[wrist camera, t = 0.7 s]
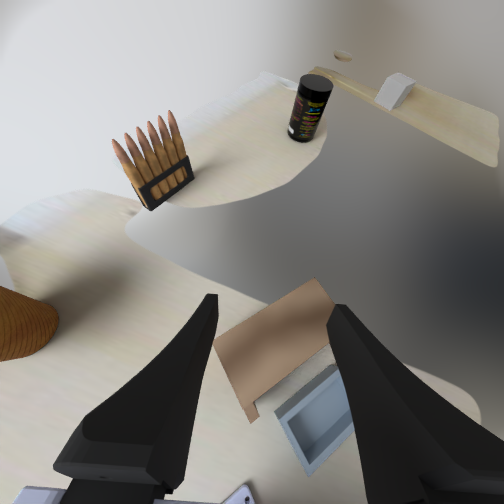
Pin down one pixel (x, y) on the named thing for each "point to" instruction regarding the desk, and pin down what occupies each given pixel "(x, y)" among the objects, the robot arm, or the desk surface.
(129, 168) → the ammunition clip
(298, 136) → the supplement container
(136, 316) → the desk surface
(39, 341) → the disposable coffee cup
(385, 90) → the grey cube
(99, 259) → the desk surface
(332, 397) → the grey tray
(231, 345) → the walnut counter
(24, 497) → the robot arm
